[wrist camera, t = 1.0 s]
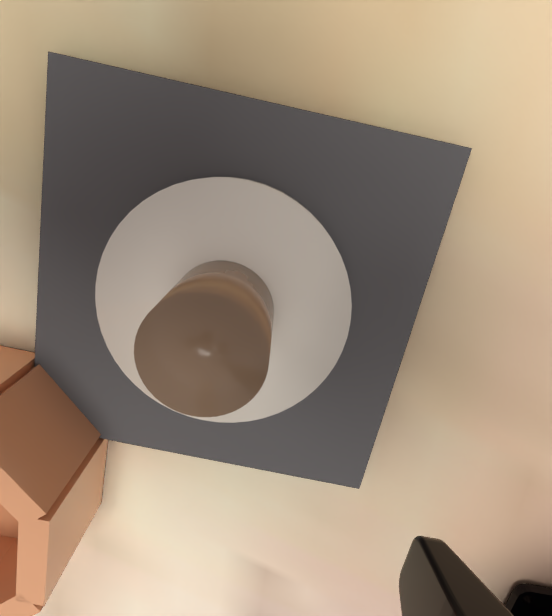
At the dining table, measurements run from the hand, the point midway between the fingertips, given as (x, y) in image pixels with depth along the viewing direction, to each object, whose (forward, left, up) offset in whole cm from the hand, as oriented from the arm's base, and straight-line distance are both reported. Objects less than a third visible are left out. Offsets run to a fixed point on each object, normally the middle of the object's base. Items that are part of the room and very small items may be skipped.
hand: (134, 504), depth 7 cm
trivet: (0, 0, -11) cm, 11 cm away
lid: (0, 0, -10) cm, 10 cm away
